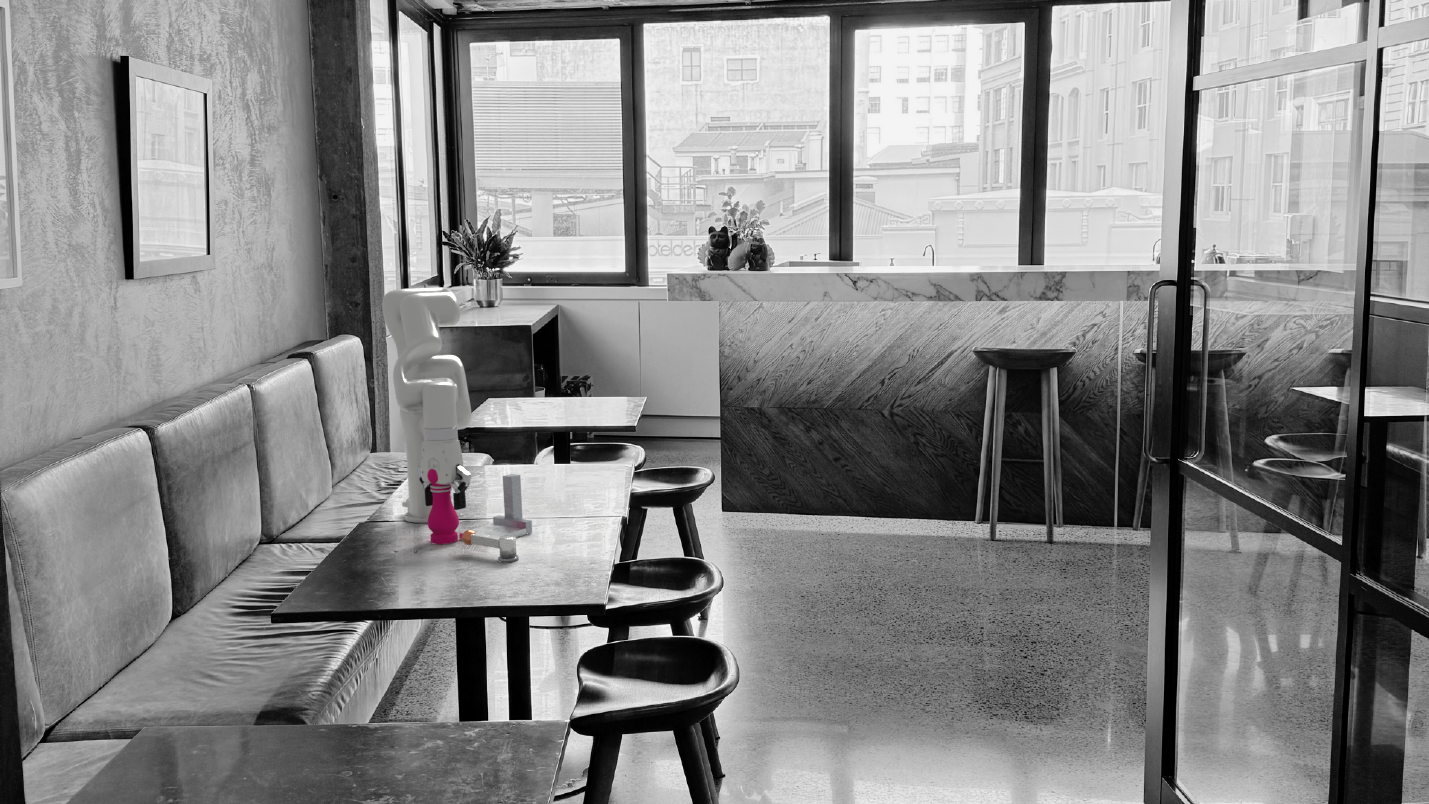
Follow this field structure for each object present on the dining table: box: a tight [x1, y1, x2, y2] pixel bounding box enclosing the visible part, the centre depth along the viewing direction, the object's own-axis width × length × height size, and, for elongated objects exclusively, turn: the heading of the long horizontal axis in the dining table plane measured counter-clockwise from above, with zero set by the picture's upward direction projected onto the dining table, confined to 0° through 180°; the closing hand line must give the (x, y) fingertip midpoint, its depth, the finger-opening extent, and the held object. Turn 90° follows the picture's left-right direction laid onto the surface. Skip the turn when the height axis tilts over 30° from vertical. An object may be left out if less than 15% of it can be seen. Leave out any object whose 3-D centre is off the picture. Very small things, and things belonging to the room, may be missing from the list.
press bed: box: [459, 473, 533, 563], centre depth 271 cm, size 26×26×13 cm
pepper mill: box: [427, 469, 460, 545], centre depth 274 cm, size 7×7×20 cm
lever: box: [461, 529, 518, 558], centre depth 260 cm, size 16×4×4 cm, turn 55°
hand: (445, 507), depth 274 cm, fingers open, 9 cm apart
